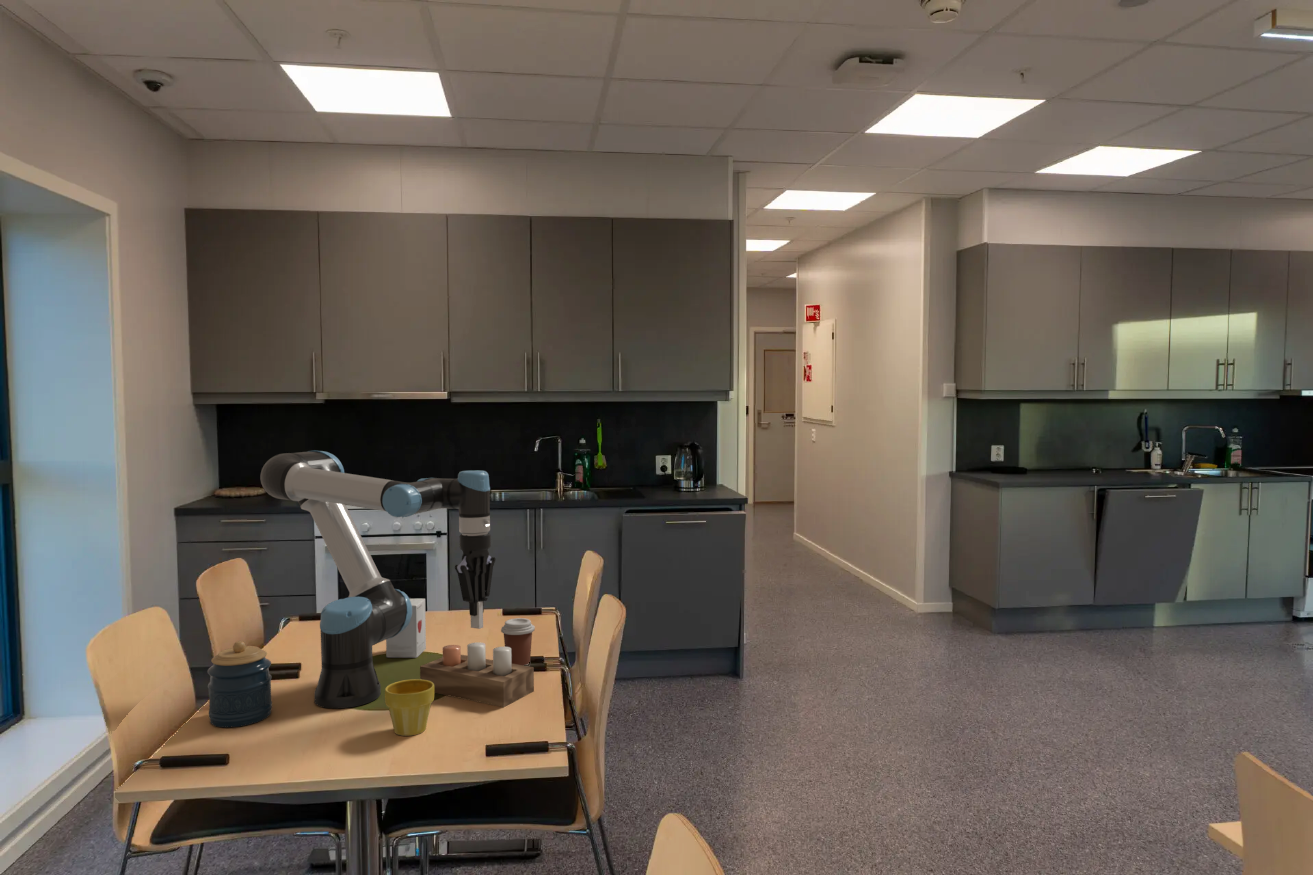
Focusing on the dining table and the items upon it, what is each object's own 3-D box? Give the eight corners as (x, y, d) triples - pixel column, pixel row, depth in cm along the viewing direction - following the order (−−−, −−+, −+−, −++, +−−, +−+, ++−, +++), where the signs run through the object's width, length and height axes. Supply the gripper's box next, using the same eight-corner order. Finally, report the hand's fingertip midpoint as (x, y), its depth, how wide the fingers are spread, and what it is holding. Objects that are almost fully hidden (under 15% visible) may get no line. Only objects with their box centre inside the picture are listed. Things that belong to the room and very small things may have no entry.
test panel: (503, 707, 192) (503, 681, 192) (420, 689, 204) (419, 666, 204) (533, 691, 203) (533, 667, 203) (452, 675, 215) (452, 652, 215)
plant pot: (416, 717, 186) (416, 675, 186) (444, 728, 180) (443, 684, 179) (376, 731, 178) (375, 687, 178) (403, 743, 172) (402, 698, 171)
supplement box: (417, 658, 230) (416, 605, 229) (385, 658, 230) (384, 605, 229) (427, 648, 239) (426, 597, 238) (396, 648, 239) (395, 597, 238)
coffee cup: (538, 659, 228) (538, 617, 227) (530, 670, 219) (529, 626, 218) (506, 658, 229) (506, 616, 228) (497, 669, 220) (496, 625, 219)
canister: (274, 703, 195) (272, 630, 194) (270, 723, 183) (268, 645, 182) (213, 711, 190) (211, 636, 190) (204, 732, 178) (202, 652, 178)
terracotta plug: (452, 678, 204) (452, 650, 204) (439, 675, 206) (438, 648, 206) (464, 673, 208) (464, 646, 208) (451, 670, 210) (450, 643, 210)
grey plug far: (504, 681, 197) (503, 652, 197) (489, 678, 199) (489, 650, 199) (515, 676, 201) (514, 647, 200) (500, 673, 203) (500, 645, 202)
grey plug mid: (477, 676, 200) (477, 648, 200) (463, 673, 202) (463, 646, 202) (489, 671, 204) (489, 643, 204) (475, 668, 206) (475, 641, 206)
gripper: (469, 538, 194) (471, 635, 195) (503, 530, 206) (505, 622, 207) (445, 536, 198) (447, 632, 199) (480, 528, 209) (482, 619, 210)
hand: (477, 627), depth 203 cm, fingers closed
